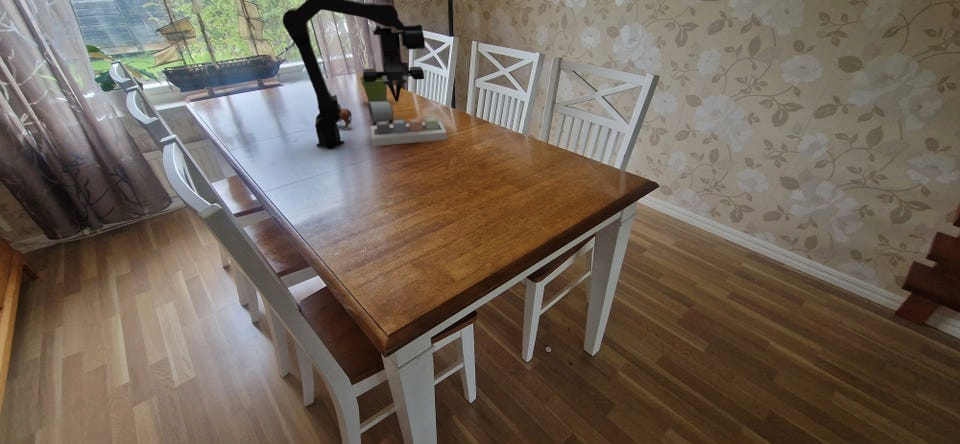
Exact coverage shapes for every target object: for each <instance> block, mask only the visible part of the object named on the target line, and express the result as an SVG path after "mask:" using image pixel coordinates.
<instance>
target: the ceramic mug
mask: <svg viewBox="0 0 960 444" xmlns="http://www.w3.org/2000/svg"><path fill="white" fill-rule="evenodd" d="M368 113H369V118H370V122H371V123H372V124H376V122H379V121H389V122H390V121H393V119H394V108H393V105H392V103H391V102H390V101H387V102H386V101H384V102H369V101H368Z"/></svg>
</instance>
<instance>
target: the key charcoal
mask: <svg viewBox="0 0 960 444" xmlns="http://www.w3.org/2000/svg"><path fill="white" fill-rule="evenodd" d="M375 124H376V126H377V131H378V134H390V133H391V132H390V125H391V124H390V121H379V122H376V123H375Z"/></svg>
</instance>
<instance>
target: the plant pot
mask: <svg viewBox="0 0 960 444" xmlns="http://www.w3.org/2000/svg"><path fill="white" fill-rule="evenodd" d="M359 81H361V84H362V86H363V88H364V89H363V90H364V92H365V94H366V98H367V101H368V103H369V102H384V101H386V102H388V101H387V99H388V98H387V97H388V85H387V84H384V83H383V79H382V78H377V79H376V80H375V82H364V78H363V75H362V76H360V77H359Z"/></svg>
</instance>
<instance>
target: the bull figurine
mask: <svg viewBox="0 0 960 444" xmlns="http://www.w3.org/2000/svg"><path fill="white" fill-rule="evenodd" d="M352 117H353V116H352V111H351V110H350V109H348V108H341V113H340V119H339V121H338V122H339V123H341V122H342V121H344V123H345V125H344V128H345V131H347V130H349V127H350V125H351V124H352Z"/></svg>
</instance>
